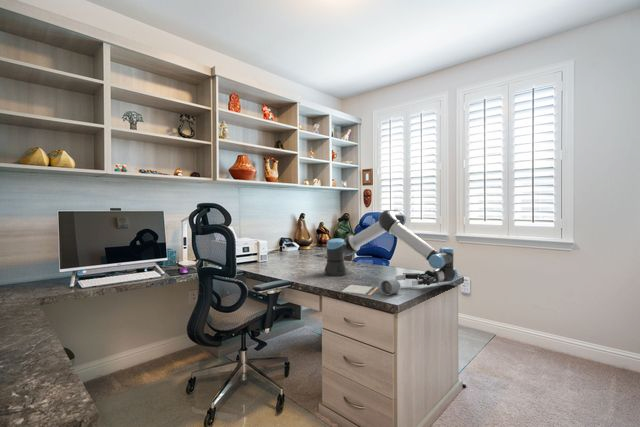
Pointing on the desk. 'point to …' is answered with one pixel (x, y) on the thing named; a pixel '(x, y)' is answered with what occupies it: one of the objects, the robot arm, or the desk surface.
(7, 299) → the desk surface
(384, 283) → the ceramic mug
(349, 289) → the pad
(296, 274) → the desk surface
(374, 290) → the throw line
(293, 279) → the desk surface
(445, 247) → the robot arm
